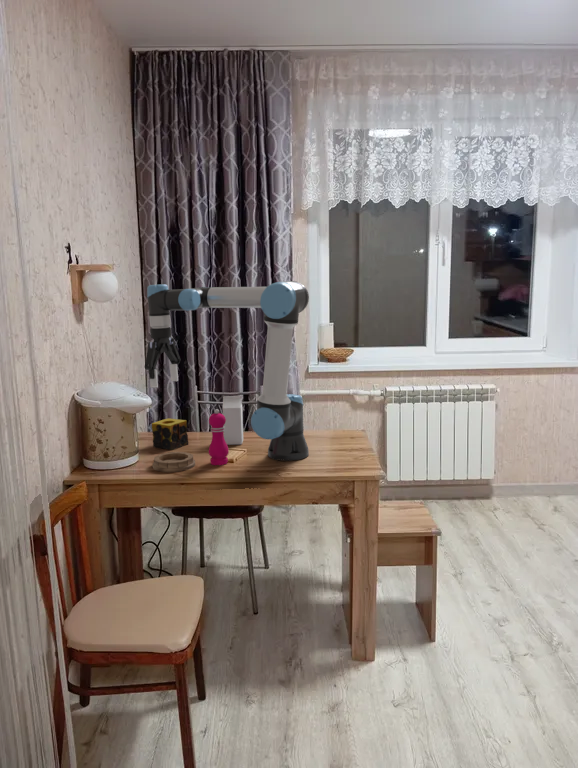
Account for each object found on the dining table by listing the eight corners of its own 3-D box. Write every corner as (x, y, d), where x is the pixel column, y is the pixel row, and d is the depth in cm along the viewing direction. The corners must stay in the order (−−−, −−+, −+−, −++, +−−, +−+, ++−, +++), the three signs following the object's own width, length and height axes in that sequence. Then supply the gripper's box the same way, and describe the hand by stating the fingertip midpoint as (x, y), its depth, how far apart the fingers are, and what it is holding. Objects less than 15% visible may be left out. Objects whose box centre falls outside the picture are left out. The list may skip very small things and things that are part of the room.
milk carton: (242, 444, 270) (240, 397, 267) (224, 445, 270) (222, 398, 267) (243, 440, 277) (241, 394, 274) (226, 440, 277) (224, 394, 274)
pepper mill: (225, 466, 242) (223, 411, 238) (206, 465, 243) (203, 411, 240) (231, 460, 249) (229, 407, 245) (212, 459, 250) (210, 406, 247)
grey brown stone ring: (202, 461, 248) (202, 453, 248) (180, 473, 235) (180, 465, 234) (167, 458, 254) (167, 449, 253) (144, 469, 240) (143, 461, 240)
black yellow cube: (189, 444, 273) (187, 420, 271) (171, 450, 264) (170, 425, 263) (169, 441, 278) (168, 417, 276) (152, 447, 270) (151, 422, 268)
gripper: (170, 323, 262) (174, 378, 266) (131, 330, 240) (136, 389, 243) (187, 323, 259) (190, 378, 263) (149, 330, 237) (154, 390, 240)
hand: (164, 384), depth 253 cm, fingers open, 13 cm apart
